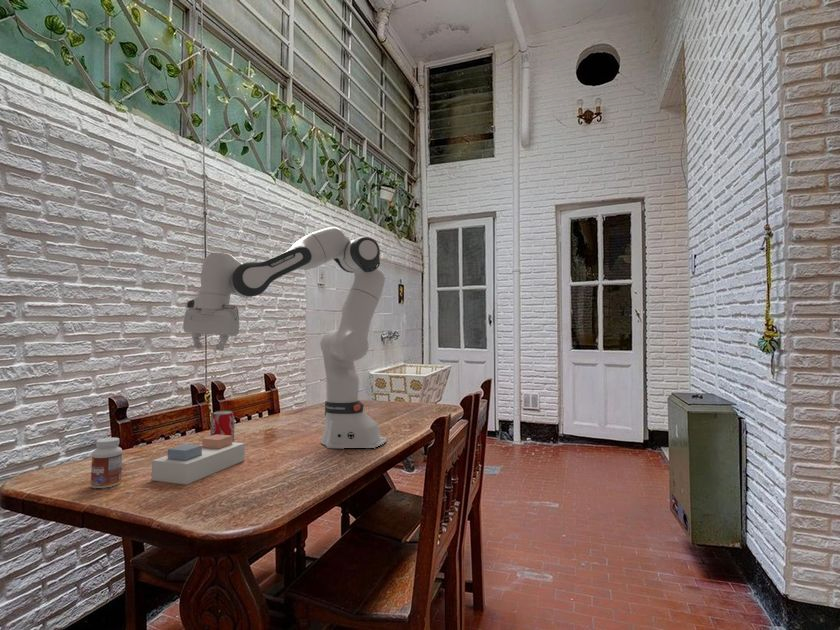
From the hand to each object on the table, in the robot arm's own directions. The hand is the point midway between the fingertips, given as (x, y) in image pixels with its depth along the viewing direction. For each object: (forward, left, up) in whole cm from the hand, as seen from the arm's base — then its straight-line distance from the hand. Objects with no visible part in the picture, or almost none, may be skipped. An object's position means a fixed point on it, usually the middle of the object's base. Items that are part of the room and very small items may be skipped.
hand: (208, 349), depth 136 cm
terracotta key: (-8, +4, -29) cm, 30 cm away
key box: (-8, +10, -32) cm, 35 cm away
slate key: (-8, +16, -29) cm, 34 cm away
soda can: (+1, -9, -33) cm, 34 cm away
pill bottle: (+5, +27, -33) cm, 43 cm away
